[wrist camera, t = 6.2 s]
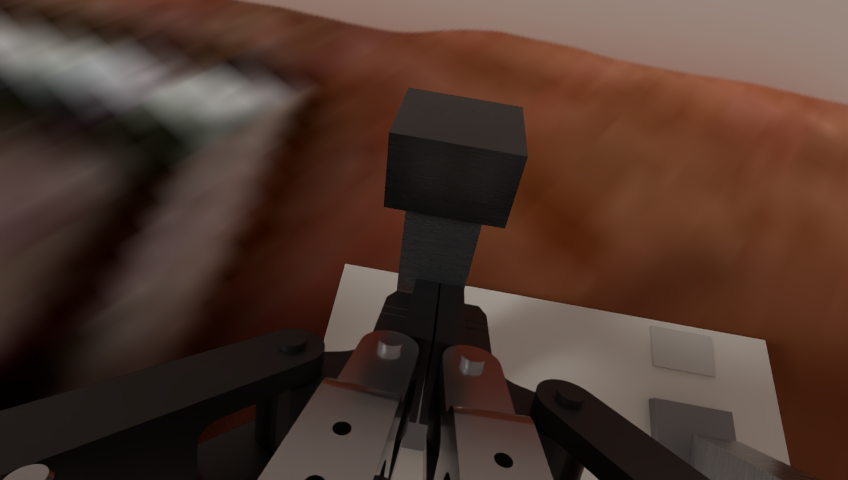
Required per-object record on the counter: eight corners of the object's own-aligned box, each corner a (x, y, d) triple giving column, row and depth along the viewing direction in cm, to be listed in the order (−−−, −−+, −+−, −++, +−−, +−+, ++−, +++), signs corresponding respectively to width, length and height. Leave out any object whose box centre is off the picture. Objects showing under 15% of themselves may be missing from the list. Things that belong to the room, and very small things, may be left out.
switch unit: (291, 521, 20) (265, 538, 16) (352, 290, 26) (344, 259, 22) (749, 612, 20) (838, 652, 16) (713, 356, 25) (773, 337, 21)
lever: (368, 412, 17) (389, 132, 9) (382, 358, 19) (408, 87, 11) (441, 426, 17) (527, 156, 9) (447, 370, 19) (522, 107, 11)
